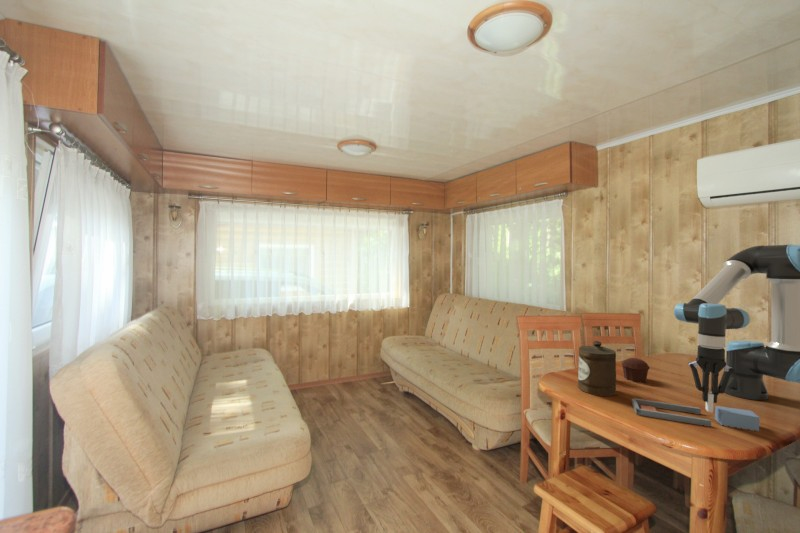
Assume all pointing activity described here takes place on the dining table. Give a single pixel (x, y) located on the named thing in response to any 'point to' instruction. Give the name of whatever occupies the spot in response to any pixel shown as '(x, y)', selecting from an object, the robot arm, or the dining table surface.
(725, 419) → the slate block
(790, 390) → the dining table surface
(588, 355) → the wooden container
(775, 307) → the robot arm
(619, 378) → the dining table surface
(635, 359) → the muffin
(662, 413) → the grey flat frame
